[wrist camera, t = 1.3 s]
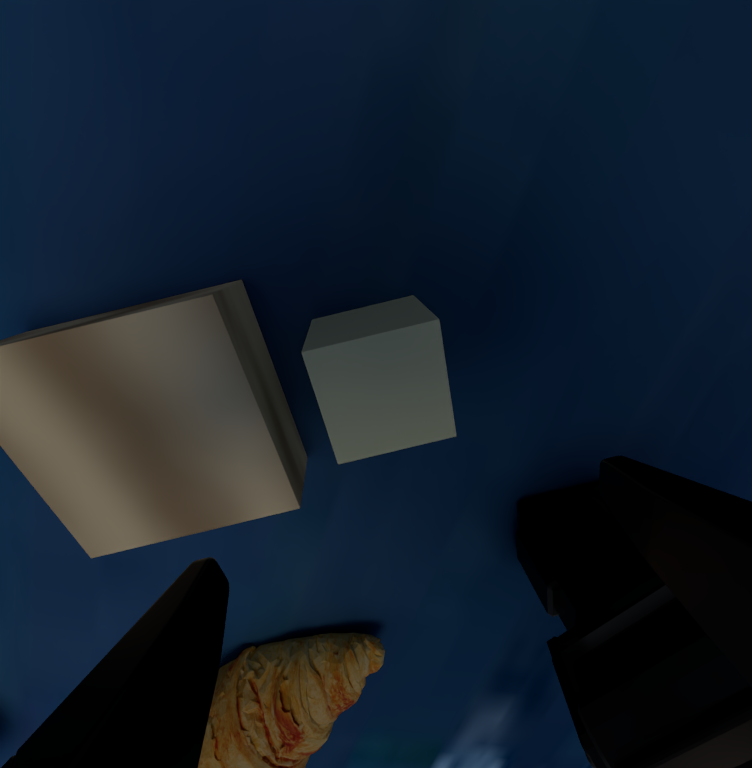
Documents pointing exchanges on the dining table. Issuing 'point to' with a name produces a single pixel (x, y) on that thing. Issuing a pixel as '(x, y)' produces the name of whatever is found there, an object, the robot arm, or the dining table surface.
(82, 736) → the robot arm
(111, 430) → the birch plinth
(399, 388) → the sage cube
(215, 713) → the croissant
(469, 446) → the dining table surface
